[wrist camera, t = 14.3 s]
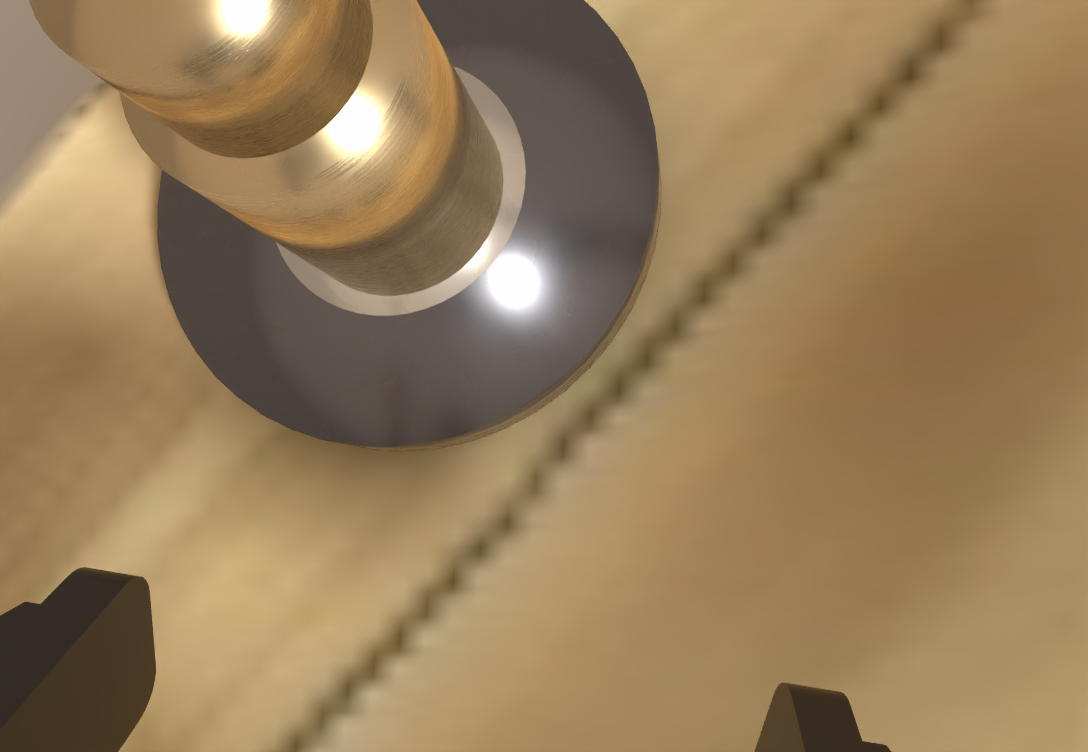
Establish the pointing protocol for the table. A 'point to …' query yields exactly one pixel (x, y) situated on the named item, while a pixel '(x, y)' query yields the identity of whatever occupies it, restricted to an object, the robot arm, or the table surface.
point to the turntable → (475, 290)
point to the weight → (304, 124)
